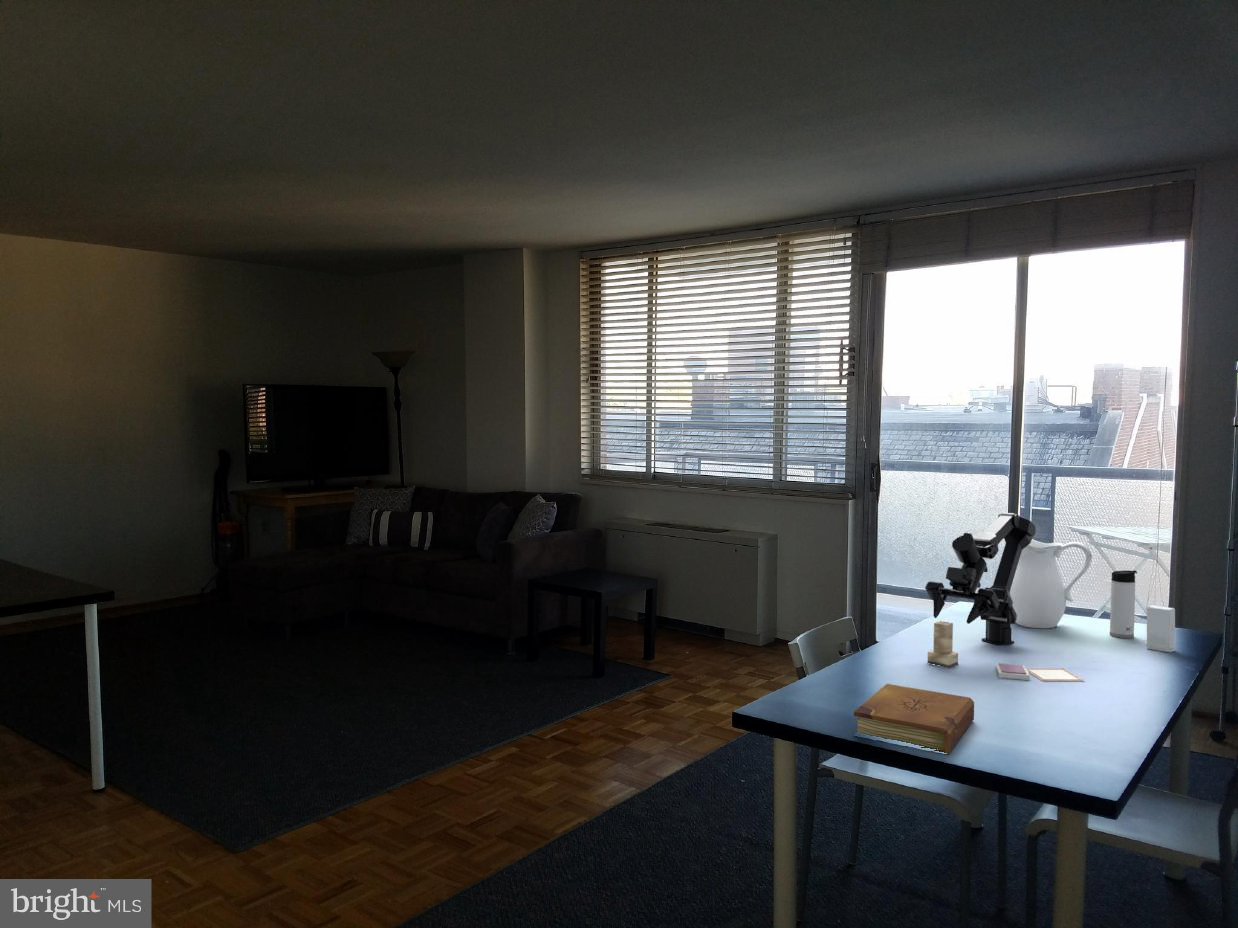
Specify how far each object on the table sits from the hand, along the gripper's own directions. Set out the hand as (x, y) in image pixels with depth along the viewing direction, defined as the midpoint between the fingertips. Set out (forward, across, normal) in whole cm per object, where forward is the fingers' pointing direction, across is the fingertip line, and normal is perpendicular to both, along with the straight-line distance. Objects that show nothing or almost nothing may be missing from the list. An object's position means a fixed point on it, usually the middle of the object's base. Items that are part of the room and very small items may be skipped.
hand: (950, 619), depth 233 cm
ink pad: (+8, +16, +8) cm, 20 cm away
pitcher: (-35, +2, +51) cm, 62 cm away
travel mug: (-38, +22, +53) cm, 69 cm away
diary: (+48, +19, -30) cm, 60 cm away
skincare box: (-31, +35, +46) cm, 66 cm away
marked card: (+3, +24, +12) cm, 27 cm away
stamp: (+11, 0, +5) cm, 12 cm away
